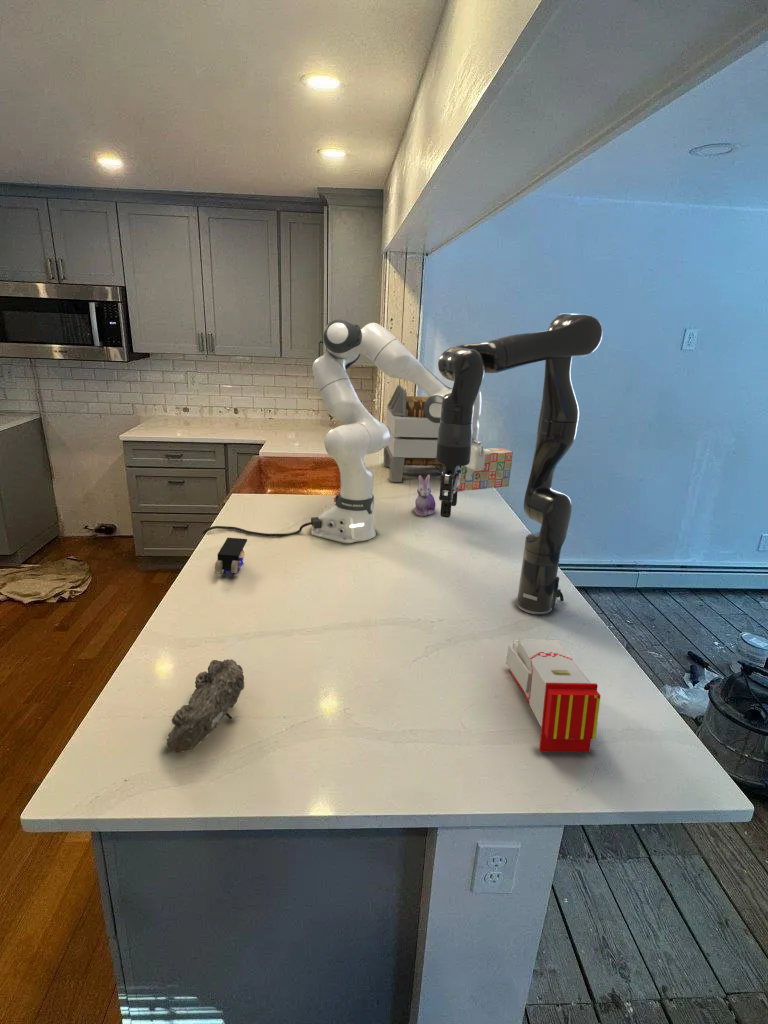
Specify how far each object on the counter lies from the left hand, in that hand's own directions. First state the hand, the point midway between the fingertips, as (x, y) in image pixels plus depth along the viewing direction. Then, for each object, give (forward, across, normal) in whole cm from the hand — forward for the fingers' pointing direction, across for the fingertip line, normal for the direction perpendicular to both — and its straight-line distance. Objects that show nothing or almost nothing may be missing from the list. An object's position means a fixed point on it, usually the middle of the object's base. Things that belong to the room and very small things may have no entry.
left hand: (460, 476), depth 188 cm
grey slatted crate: (+23, +79, -29) cm, 87 cm away
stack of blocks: (+4, 0, -7) cm, 8 cm away
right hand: (-8, -48, +35) cm, 60 cm away
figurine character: (+23, +3, +75) cm, 79 cm away
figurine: (+23, +29, -4) cm, 37 cm away
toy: (+23, -80, +30) cm, 89 cm away
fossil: (+23, -59, +92) cm, 112 cm away
